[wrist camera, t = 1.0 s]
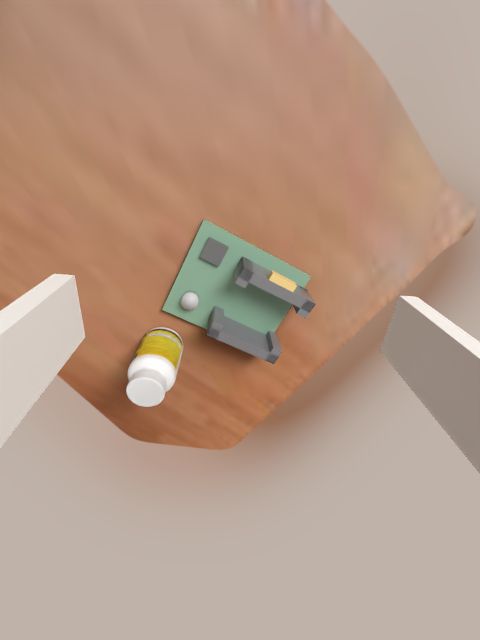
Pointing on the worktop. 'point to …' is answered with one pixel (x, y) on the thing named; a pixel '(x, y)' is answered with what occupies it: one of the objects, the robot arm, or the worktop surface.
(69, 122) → the worktop surface
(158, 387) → the supplement bottle
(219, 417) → the worktop surface
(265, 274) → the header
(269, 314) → the board
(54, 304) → the robot arm
